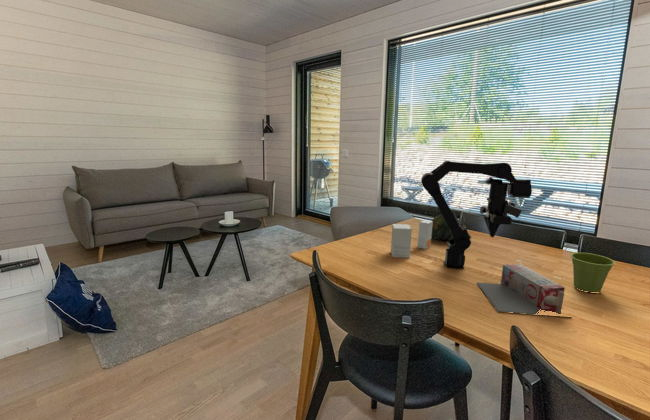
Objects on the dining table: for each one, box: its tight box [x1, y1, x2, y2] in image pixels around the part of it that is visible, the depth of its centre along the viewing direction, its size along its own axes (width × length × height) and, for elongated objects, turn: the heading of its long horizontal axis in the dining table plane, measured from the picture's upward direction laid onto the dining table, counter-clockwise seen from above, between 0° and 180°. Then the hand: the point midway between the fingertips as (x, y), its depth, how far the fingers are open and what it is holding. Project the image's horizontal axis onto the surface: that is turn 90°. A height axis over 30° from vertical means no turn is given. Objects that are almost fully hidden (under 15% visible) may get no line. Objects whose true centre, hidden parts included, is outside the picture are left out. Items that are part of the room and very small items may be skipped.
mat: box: [476, 282, 545, 314], centre depth 109 cm, size 20×20×1 cm
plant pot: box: [570, 252, 616, 293], centre depth 116 cm, size 12×12×11 cm
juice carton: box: [500, 263, 566, 314], centre depth 109 cm, size 7×7×22 cm
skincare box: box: [416, 219, 433, 250], centre depth 157 cm, size 6×4×12 cm
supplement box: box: [390, 223, 413, 259], centre depth 146 cm, size 7×7×13 cm
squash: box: [431, 211, 462, 241], centre depth 170 cm, size 14×15×15 cm
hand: (491, 236), depth 131 cm, fingers closed
